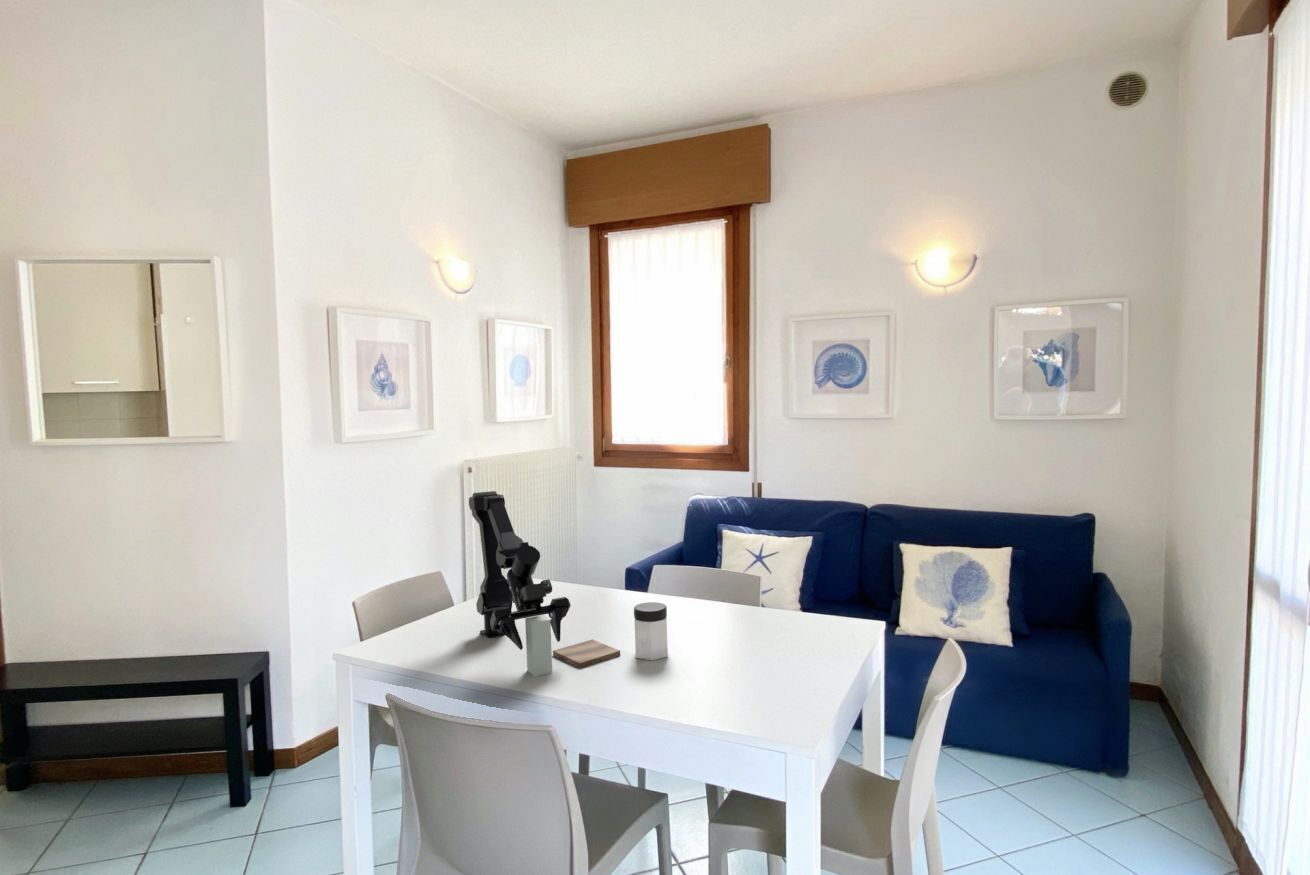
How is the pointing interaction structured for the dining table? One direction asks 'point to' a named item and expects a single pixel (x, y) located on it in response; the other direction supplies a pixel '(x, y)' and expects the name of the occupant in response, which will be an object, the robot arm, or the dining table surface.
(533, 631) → the pale green square post
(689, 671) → the dining table surface
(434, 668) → the dining table surface
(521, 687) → the dining table surface
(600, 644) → the plate
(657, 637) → the jar
